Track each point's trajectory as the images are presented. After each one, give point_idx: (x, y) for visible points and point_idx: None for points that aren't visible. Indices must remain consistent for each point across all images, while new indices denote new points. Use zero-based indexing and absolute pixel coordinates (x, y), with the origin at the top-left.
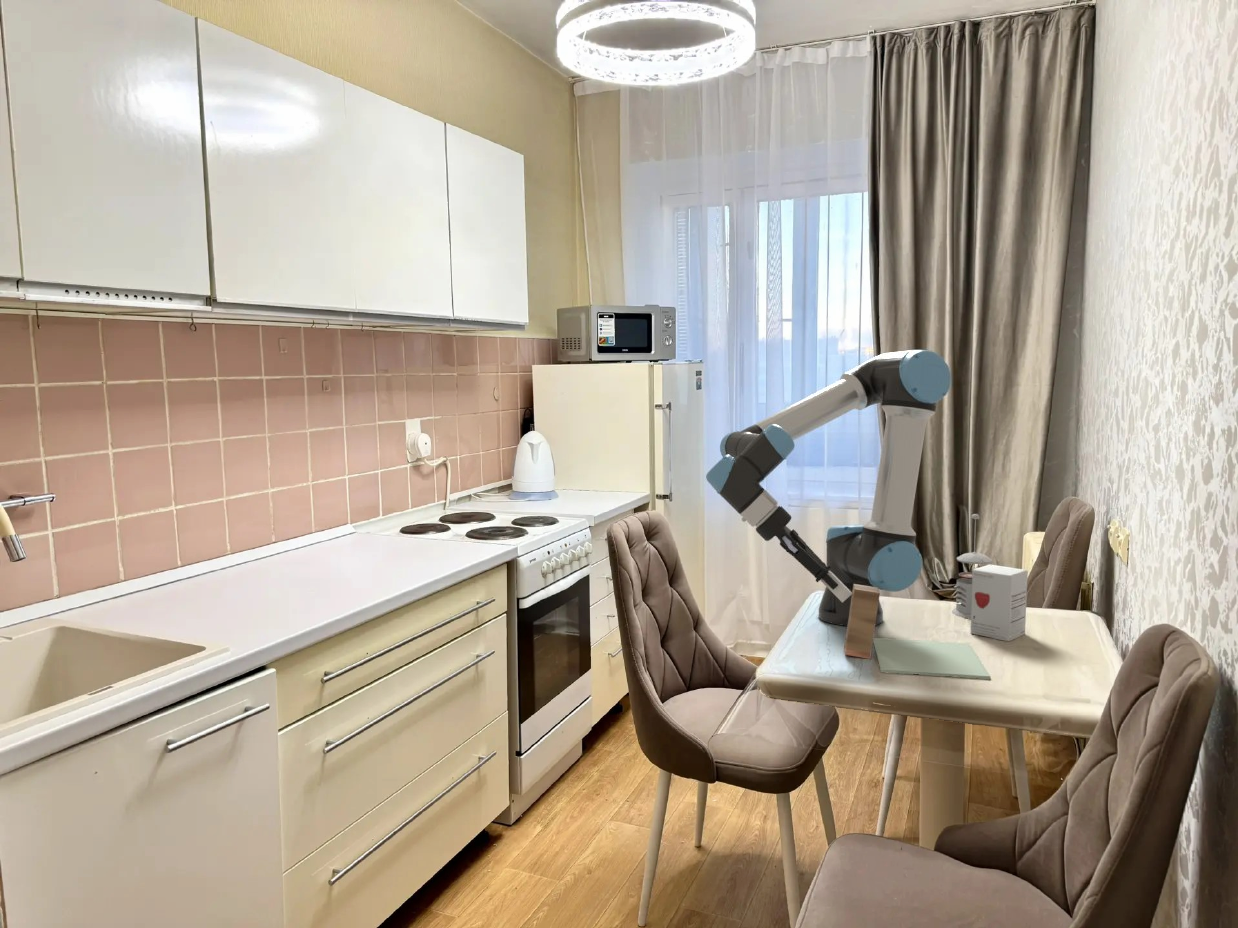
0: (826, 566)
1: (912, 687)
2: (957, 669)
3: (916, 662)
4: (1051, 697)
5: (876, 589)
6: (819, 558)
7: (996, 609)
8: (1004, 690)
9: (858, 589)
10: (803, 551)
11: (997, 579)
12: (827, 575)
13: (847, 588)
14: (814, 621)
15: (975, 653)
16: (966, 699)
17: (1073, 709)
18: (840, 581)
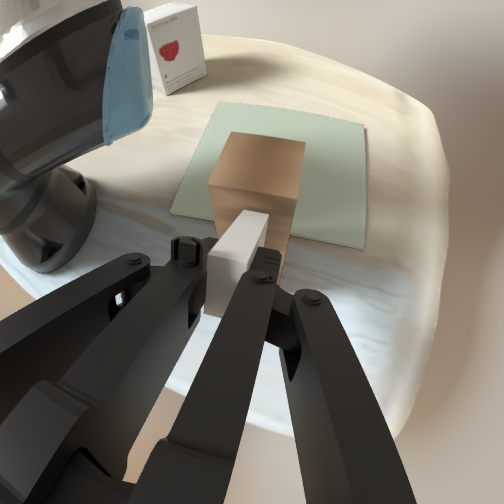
0: (180, 260)
1: (418, 225)
2: (344, 145)
3: (318, 182)
4: (402, 109)
5: (260, 139)
6: (95, 273)
7: (188, 51)
8: (396, 132)
9: (296, 188)
10: (404, 483)
11: (182, 17)
12: (276, 285)
13: (246, 216)
14: (51, 286)
15: (266, 106)
16: (437, 180)
17: (425, 112)
18: (237, 228)
